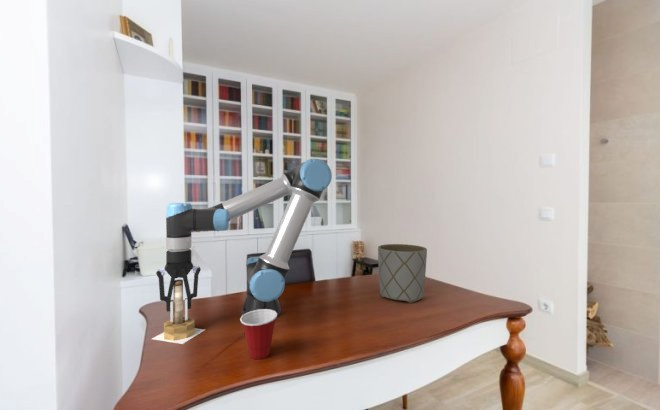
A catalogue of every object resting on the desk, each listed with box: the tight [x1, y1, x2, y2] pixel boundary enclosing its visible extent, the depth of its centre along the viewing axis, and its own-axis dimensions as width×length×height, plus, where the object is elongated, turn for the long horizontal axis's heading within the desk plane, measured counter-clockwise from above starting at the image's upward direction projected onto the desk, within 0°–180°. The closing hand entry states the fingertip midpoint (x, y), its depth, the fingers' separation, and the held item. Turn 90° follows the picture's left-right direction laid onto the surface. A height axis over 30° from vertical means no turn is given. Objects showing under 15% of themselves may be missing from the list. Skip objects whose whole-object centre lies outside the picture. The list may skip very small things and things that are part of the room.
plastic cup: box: [239, 309, 278, 360], centre depth 93 cm, size 11×11×12 cm
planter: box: [377, 243, 428, 304], centre depth 150 cm, size 23×23×24 cm
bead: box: [163, 316, 196, 341], centre depth 105 cm, size 9×9×4 cm
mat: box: [151, 327, 205, 345], centre depth 105 cm, size 12×11×1 cm
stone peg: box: [173, 278, 184, 325], centre depth 105 cm, size 3×3×18 cm
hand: (179, 319), depth 105 cm, fingers open, 4 cm apart
